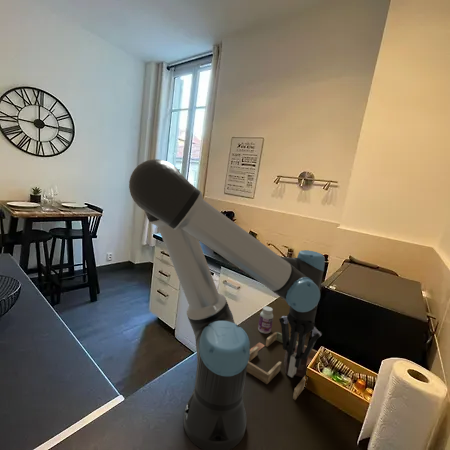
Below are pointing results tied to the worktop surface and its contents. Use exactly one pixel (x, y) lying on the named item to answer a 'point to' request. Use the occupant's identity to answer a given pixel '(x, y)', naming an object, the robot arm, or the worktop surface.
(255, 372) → the tray
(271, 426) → the worktop surface
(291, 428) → the worktop surface
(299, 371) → the box
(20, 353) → the worktop surface
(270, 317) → the pill bottle
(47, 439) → the worktop surface
